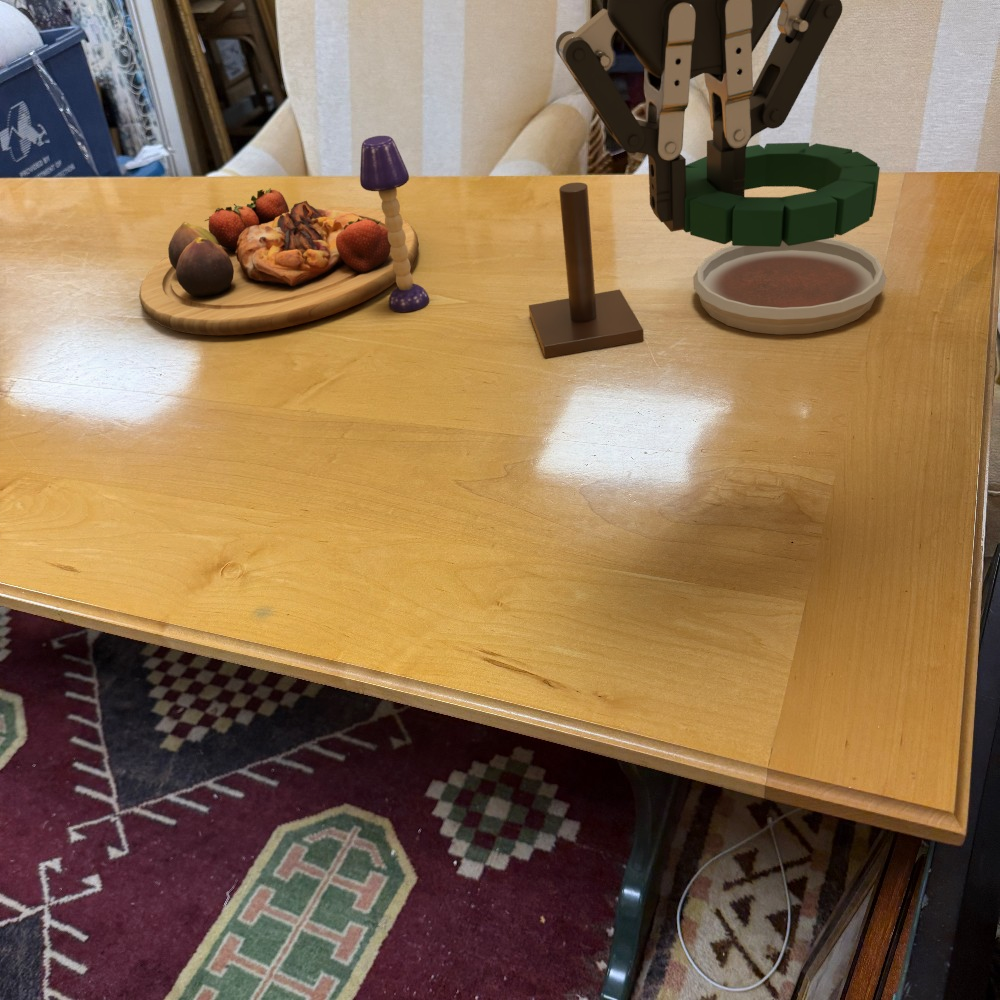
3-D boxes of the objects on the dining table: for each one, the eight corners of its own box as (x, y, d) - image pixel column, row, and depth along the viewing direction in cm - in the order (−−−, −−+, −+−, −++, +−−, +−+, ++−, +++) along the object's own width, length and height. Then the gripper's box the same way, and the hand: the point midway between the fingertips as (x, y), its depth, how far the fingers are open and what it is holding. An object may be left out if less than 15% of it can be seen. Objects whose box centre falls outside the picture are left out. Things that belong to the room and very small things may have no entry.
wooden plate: (478, 248, 104) (467, 176, 99) (251, 369, 87) (225, 288, 82) (307, 210, 123) (291, 147, 118) (93, 303, 106) (64, 234, 101)
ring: (823, 164, 52) (826, 131, 51) (912, 223, 44) (917, 186, 43) (652, 195, 51) (651, 163, 50) (710, 261, 43) (710, 224, 42)
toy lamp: (441, 301, 94) (411, 134, 84) (407, 319, 91) (372, 149, 81) (411, 291, 97) (379, 129, 87) (378, 308, 94) (340, 143, 84)
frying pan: (884, 195, 95) (889, 309, 74) (881, 222, 97) (885, 342, 76) (718, 198, 100) (679, 305, 79) (718, 224, 102) (679, 336, 81)
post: (620, 300, 89) (613, 163, 81) (643, 341, 81) (638, 194, 73) (529, 316, 88) (513, 180, 80) (545, 358, 81) (529, 213, 73)
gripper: (547, -164, 34) (583, 273, 44) (904, -224, 34) (857, 222, 45) (516, -163, 40) (554, 221, 50) (820, -214, 40) (796, 177, 51)
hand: (697, 220), depth 47 cm, fingers closed on ring, 2 cm apart
